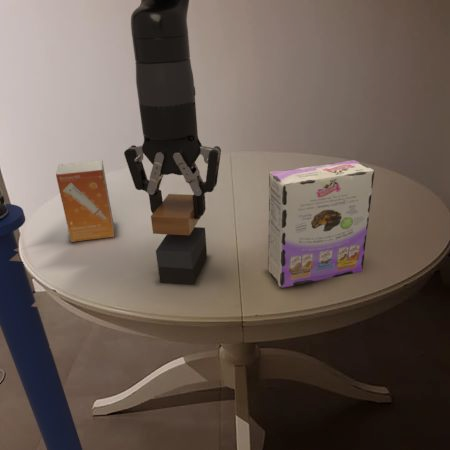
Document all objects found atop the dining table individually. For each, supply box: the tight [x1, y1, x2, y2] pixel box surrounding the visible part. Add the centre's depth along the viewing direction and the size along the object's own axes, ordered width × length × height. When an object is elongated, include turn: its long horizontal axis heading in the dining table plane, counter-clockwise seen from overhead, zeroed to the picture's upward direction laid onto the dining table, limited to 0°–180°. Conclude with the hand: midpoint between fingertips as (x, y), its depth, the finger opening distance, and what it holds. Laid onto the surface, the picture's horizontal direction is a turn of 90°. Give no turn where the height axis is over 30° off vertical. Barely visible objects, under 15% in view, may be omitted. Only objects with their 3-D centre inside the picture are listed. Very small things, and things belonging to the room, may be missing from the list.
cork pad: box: [150, 193, 200, 235], centre depth 71 cm, size 9×6×3 cm, turn 169°
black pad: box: [157, 243, 208, 286], centre depth 76 cm, size 9×6×3 cm, turn 169°
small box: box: [55, 159, 115, 243], centre depth 86 cm, size 8×6×13 cm
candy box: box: [267, 159, 376, 289], centre depth 70 cm, size 14×6×16 cm, turn 106°
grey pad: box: [155, 226, 207, 269], centre depth 74 cm, size 9×6×3 cm, turn 169°
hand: (179, 216), depth 71 cm, fingers closed on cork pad, 5 cm apart
